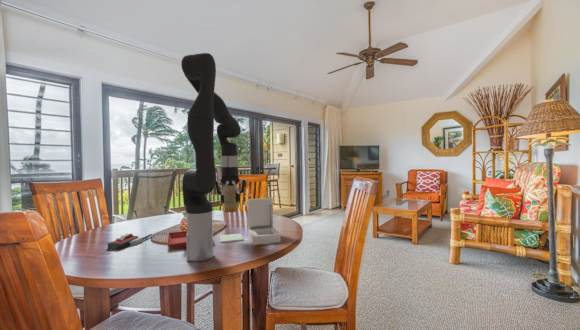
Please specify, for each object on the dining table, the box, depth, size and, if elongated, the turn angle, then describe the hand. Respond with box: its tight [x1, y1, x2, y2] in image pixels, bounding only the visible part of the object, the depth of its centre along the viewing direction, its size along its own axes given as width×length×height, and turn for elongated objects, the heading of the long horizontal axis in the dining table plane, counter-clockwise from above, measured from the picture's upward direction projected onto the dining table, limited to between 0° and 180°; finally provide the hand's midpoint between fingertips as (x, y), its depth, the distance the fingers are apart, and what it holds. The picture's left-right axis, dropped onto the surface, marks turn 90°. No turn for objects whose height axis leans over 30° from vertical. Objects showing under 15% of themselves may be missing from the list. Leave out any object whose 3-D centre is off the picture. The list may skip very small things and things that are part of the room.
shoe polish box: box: [223, 185, 238, 213], centre depth 126 cm, size 5×5×12 cm
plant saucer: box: [166, 230, 187, 250], centre depth 122 cm, size 18×18×3 cm
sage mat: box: [219, 233, 244, 244], centre depth 126 cm, size 10×10×1 cm
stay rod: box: [269, 204, 272, 227], centre depth 131 cm, size 1×2×11 cm, turn 17°
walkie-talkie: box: [107, 233, 153, 251], centre depth 122 cm, size 9×4×20 cm
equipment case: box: [246, 197, 281, 246], centre depth 125 cm, size 12×15×18 cm
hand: (230, 202), depth 126 cm, fingers closed on shoe polish box, 5 cm apart
